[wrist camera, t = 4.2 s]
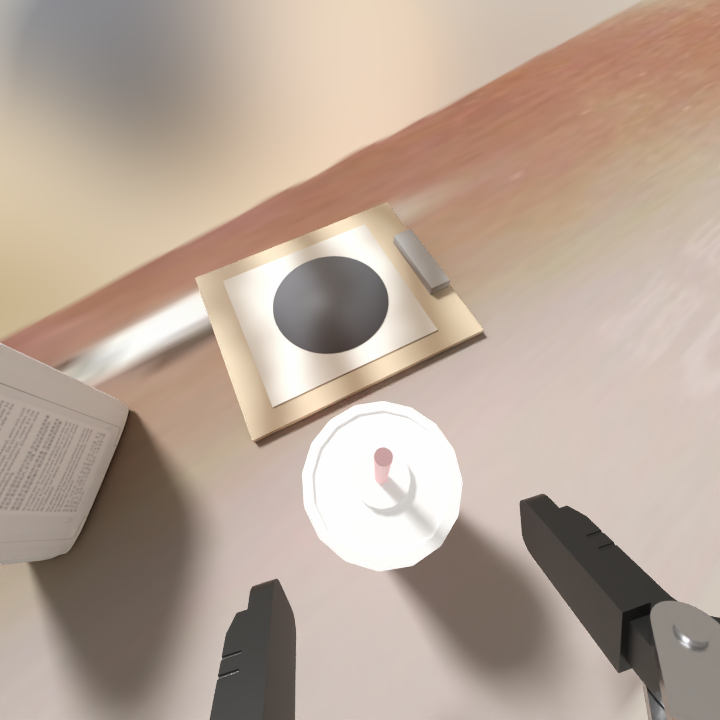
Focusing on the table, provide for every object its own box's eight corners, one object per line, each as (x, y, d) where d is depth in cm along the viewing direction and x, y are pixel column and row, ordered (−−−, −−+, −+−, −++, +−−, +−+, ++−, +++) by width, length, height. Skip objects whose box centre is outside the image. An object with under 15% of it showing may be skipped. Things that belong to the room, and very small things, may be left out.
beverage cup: (443, 468, 22) (538, 399, 9) (406, 569, 19) (462, 670, 7) (356, 428, 23) (331, 317, 10) (312, 518, 21) (211, 520, 8)
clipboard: (254, 442, 23) (248, 438, 22) (198, 281, 29) (190, 271, 28) (481, 333, 25) (486, 324, 24) (387, 206, 31) (387, 194, 30)
